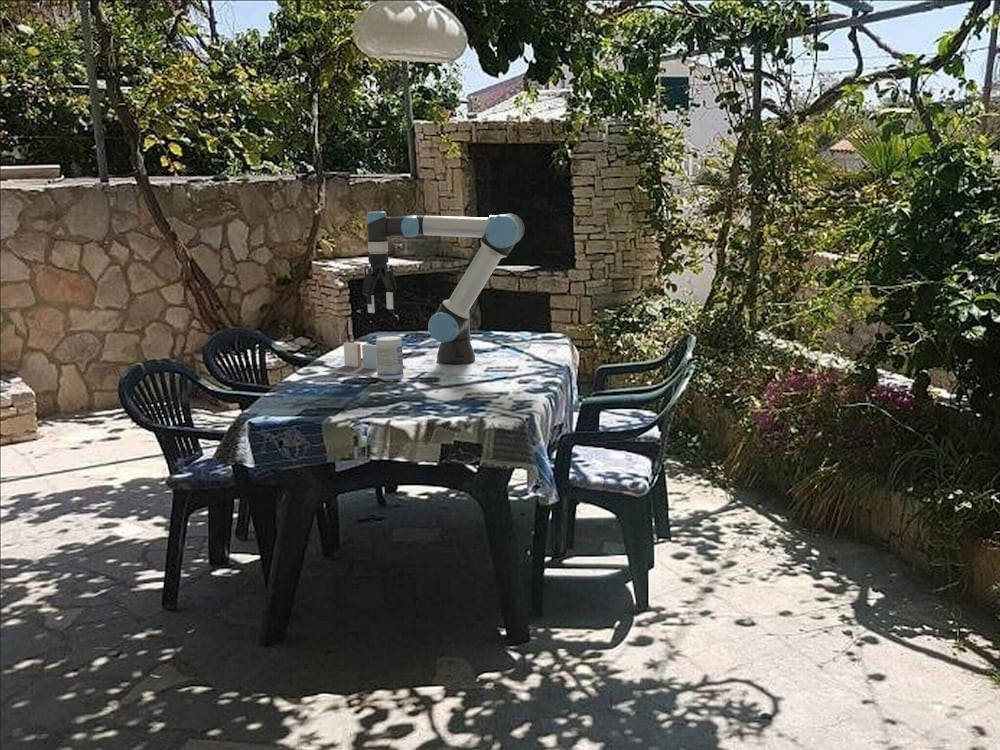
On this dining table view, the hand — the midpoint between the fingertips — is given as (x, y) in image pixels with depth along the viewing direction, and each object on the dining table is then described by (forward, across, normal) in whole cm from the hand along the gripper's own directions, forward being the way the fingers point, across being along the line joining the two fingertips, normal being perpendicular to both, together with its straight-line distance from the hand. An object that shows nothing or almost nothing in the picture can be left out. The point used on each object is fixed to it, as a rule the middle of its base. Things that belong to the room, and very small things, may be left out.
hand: (380, 310), depth 339 cm
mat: (+22, +9, -5) cm, 24 cm away
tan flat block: (+21, +7, -9) cm, 24 cm away
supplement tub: (+22, +15, +16) cm, 31 cm away
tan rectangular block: (+21, +7, 0) cm, 23 cm away
